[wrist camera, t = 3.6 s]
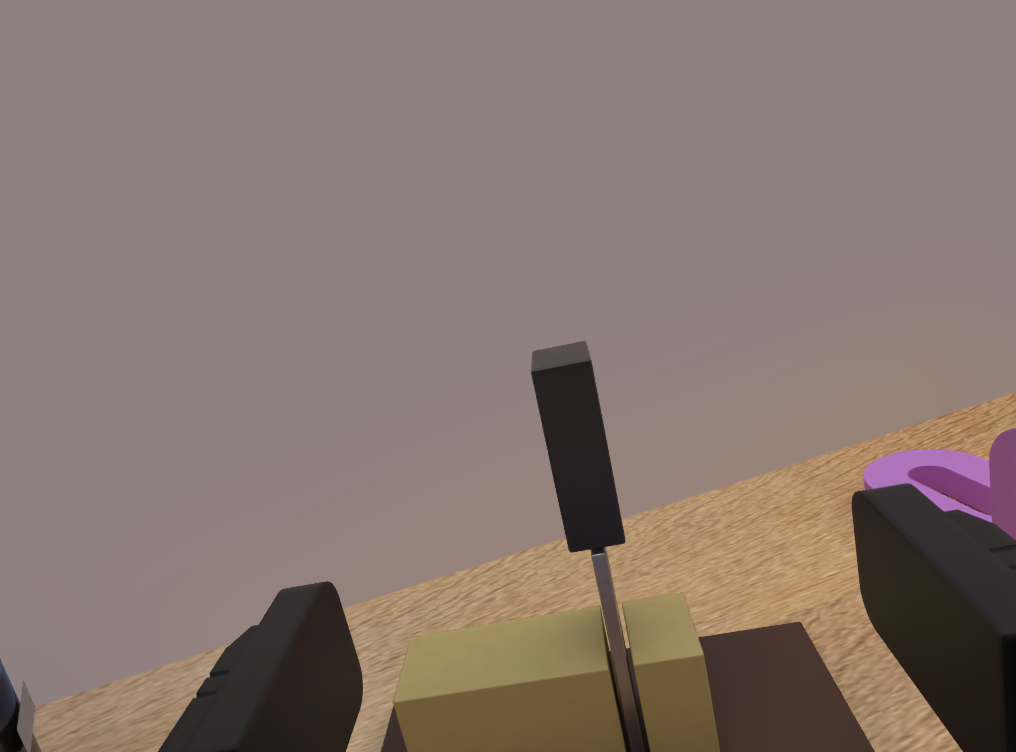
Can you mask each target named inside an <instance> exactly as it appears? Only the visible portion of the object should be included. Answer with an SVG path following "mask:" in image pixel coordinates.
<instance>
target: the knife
mask: <svg viewBox="0 0 1016 752" xmlns="http://www.w3.org/2000/svg"><path fill="white" fill-rule="evenodd" d="M531 375H532V380H533V384H534V389H535V394H536V399H537V403H538V408H539V413H540V417H541V422H542V427H543V431H544V436H545V441H546V445H547V450H548V455H549V459H550V464H551V469H552V474H553V478H554V483H555V488H556V493H557V497H558V502H559V507H560V511H561V515H562V520H563V525H564V530H565V534H566V540H567V544H568V549H569V551H570V552H578V551H584V550H590V549H591V556H592V561H593V566H594V571H595V576H596V581H597V586H598V591H599V595H600V600H601V605H602V610H603V615H604V620H605V625H606V630H607V635H608V640H609V644H610V649H611V654H612V659H613V664H614V669H615V674H616V679H617V684H618V688H619V693H620V698H621V703H622V708H623V713H624V718H625V723H626V728H627V733H628V737H629V742H630V747H631V752H645V747H644V742H643V736H642V730H641V725H640V719H639V714H638V708H637V702H636V697H635V692H634V687H633V682H632V677H631V671H630V666H629V661H628V656H627V651H626V646H625V641H624V636H623V631H622V626H621V621H620V616H619V611H618V606H617V601H616V596H615V591H614V586H613V581H612V575H611V570H610V565H609V560H608V555H607V550H606V547H607V546H613V545H619V544H624V543H625V541H626V540H625V535H624V530H623V525H622V519H621V514H620V509H619V504H618V498H617V493H616V488H615V482H614V477H613V472H612V467H611V461H610V456H609V451H608V445H607V440H606V435H605V430H604V424H603V419H602V414H601V409H600V404H599V398H598V393H597V387H596V383H595V377H594V372H593V367H592V362H591V357H590V353H589V350H588V346H587V343H586V342H585V341H582V342H577V343H573V344H567V345H562V346H557V347H552V348H547V349H542V350H537V351H533V352H532V365H531Z"/></svg>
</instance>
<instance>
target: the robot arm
mask: <svg viewBox="0 0 1016 752" xmlns="http://www.w3.org/2000/svg"><path fill="white" fill-rule="evenodd" d="M852 514H853V524H854V534H855V544H856V553H857V563H858V573H859V582H860V589H861V594H862V598H863V602H864V605H865V608H866V611H867V614H868V616H869V618H870V621H871V623H872V625H873V626H874V628H875V630H876V631H877V633H878V634H879V635H880V637H881V638H882V640H883V641H884V642H885V644H886V645H887V647H888V648H889V649H890V651H891V652H892V654H893V655H894V656H895V658H896V659H897V660H898V662H899V663H900V665H901V666H902V667H903V669H904V670H905V672H906V673H907V674H908V676H909V677H910V679H911V680H912V681H913V683H914V684H915V685H916V687H917V688H918V690H919V691H920V692H921V694H922V695H923V697H924V698H925V699H926V701H927V702H928V704H929V705H930V706H931V708H932V709H933V710H934V712H935V713H936V715H937V716H938V717H939V719H940V720H941V722H942V723H943V724H944V726H945V727H946V729H947V730H948V731H949V733H950V734H951V735H952V737H953V738H954V740H955V741H956V742H957V744H958V745H959V747H960V748H961V749H962V751H963V752H1016V540H1015V539H1013V538H1012V537H1011V536H1010V535H1008V534H1007V533H1006V532H1005V531H1003V530H1002V529H1001V528H999V527H998V526H997V525H996V524H994V523H992V522H989V521H986V520H984V519H981V518H979V517H976V516H974V515H971V514H969V513H966V512H963V511H961V510H958V509H957V510H951V511H945V512H944V511H943V510H942V509H940V508H939V507H938V506H937V505H936V504H935V503H933V502H932V501H931V500H930V499H929V498H928V497H926V496H925V495H924V494H923V493H922V492H921V491H919V490H918V489H917V488H916V487H915V486H913V485H912V484H910V483H904V484H898V485H892V486H886V487H880V488H875V489H869V490H863V491H857V492H855V493H854V495H853V498H852ZM196 694H197V698H193V699H192V701H191V702H190V704H189V705H188V707H187V708H186V710H185V711H184V713H183V714H182V716H181V717H180V719H179V720H178V722H177V724H176V725H175V727H174V728H173V730H172V731H171V733H170V734H169V736H168V737H167V739H166V740H165V742H164V743H163V745H162V746H161V748H160V749H159V751H158V752H346V749H347V746H348V743H349V740H350V737H351V734H352V731H353V728H354V725H355V722H356V719H357V716H358V713H359V710H360V707H361V703H362V695H363V682H362V672H361V667H360V663H359V660H358V656H357V653H356V650H355V647H354V644H353V640H352V637H351V634H350V631H349V627H348V624H347V621H346V618H345V614H344V611H343V608H342V605H341V602H340V598H339V595H338V593H337V590H336V588H335V587H334V585H333V584H332V583H330V582H321V583H315V584H309V585H303V586H297V587H291V588H286V589H282V590H281V591H280V592H279V593H278V594H277V596H276V598H275V599H274V601H273V603H272V604H271V606H270V607H269V609H268V611H267V612H266V614H265V615H264V617H263V619H262V620H261V622H260V623H259V625H255V626H252V627H250V628H249V629H248V630H247V631H246V632H244V633H243V635H241V636H240V637H239V638H238V639H236V640H235V641H234V642H233V643H232V644H231V645H230V646H228V647H227V648H226V649H225V651H224V652H223V654H222V655H221V657H220V658H219V660H218V661H217V663H216V664H215V666H214V667H213V669H212V670H211V672H210V677H209V678H206V679H205V681H204V683H203V684H202V686H201V687H200V689H199V690H198V692H197V693H196ZM34 713H35V705H34V703H33V701H32V698H31V696H30V694H29V692H28V689H27V688H26V685H25V683H24V681H23V687H22V695H21V702H19V700H18V697H17V695H16V693H15V691H14V689H13V686H12V684H11V682H10V680H9V678H8V675H7V673H6V672H5V669H4V667H3V665H2V662H1V660H0V752H41V749H40V747H39V745H38V743H37V741H36V738H35V736H34V734H33V723H34Z"/></svg>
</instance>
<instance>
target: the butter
mask: <svg viewBox="0 0 1016 752" xmlns="http://www.w3.org/2000/svg"><path fill="white" fill-rule="evenodd" d="M393 705H394V708H395V711H396V715H397V718H398V721H399V725H400V728H401V731H402V735H403V738H404V741H405V745H406V748H407V751H408V752H627V750H626V743H625V736H624V729H623V722H622V716H621V709H620V702H619V695H618V690H617V685H616V680H615V675H614V670H613V666H612V661H611V656H610V651H609V646H608V641H607V636H606V631H605V627H604V622H603V617H602V612H601V607H600V606H595V607H589V608H583V609H577V610H570V611H564V612H558V613H552V614H546V615H540V616H533V617H527V618H521V619H515V620H509V621H502V622H496V623H490V624H484V625H478V626H472V627H465V628H459V629H453V630H447V631H441V632H434V633H428V634H422V635H416V636H411V638H410V642H409V645H408V649H407V653H406V656H405V660H404V663H403V667H402V671H401V674H400V678H399V681H398V685H397V689H396V692H395V696H394V700H393Z"/></svg>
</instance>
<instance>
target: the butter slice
mask: <svg viewBox="0 0 1016 752" xmlns="http://www.w3.org/2000/svg"><path fill="white" fill-rule="evenodd" d="M622 607H623V612H624V618H625V623H626V629H627V634H628V639H629V645H630V650H631V656H632V661H633V666H634V671H635V676H636V682H637V687H638V692H639V697H640V702H641V707H642V712H643V717H644V722H645V727H646V733H647V738H648V743H649V748H650V752H720V748H719V742H718V736H717V730H716V724H715V718H714V712H713V706H712V700H711V694H710V688H709V682H708V676H707V670H706V664H705V658H704V653H703V650H702V647H701V644H700V641H699V638H698V635H697V632H696V629H695V626H694V623H693V620H692V617H691V614H690V611H689V608H688V605H687V602H686V599H685V596H684V594H683V593H682V592H681V593H675V594H669V595H663V596H657V597H650V598H644V599H638V600H632V601H626V602H622Z"/></svg>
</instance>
